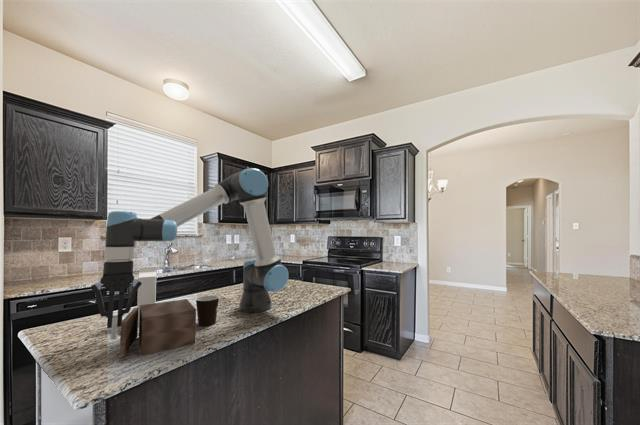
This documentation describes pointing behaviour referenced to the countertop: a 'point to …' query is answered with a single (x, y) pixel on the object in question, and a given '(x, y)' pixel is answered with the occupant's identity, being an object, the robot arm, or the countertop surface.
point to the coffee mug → (207, 310)
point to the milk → (146, 287)
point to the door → (128, 331)
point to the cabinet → (166, 326)
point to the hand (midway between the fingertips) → (113, 338)
